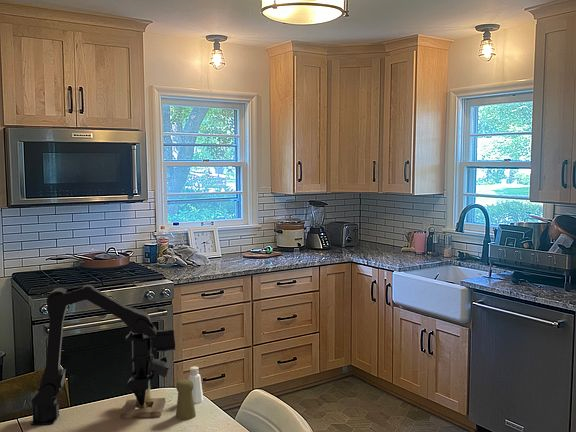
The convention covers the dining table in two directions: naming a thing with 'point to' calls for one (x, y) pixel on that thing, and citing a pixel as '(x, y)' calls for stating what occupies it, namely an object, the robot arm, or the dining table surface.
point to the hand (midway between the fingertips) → (143, 402)
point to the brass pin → (147, 400)
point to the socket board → (152, 411)
